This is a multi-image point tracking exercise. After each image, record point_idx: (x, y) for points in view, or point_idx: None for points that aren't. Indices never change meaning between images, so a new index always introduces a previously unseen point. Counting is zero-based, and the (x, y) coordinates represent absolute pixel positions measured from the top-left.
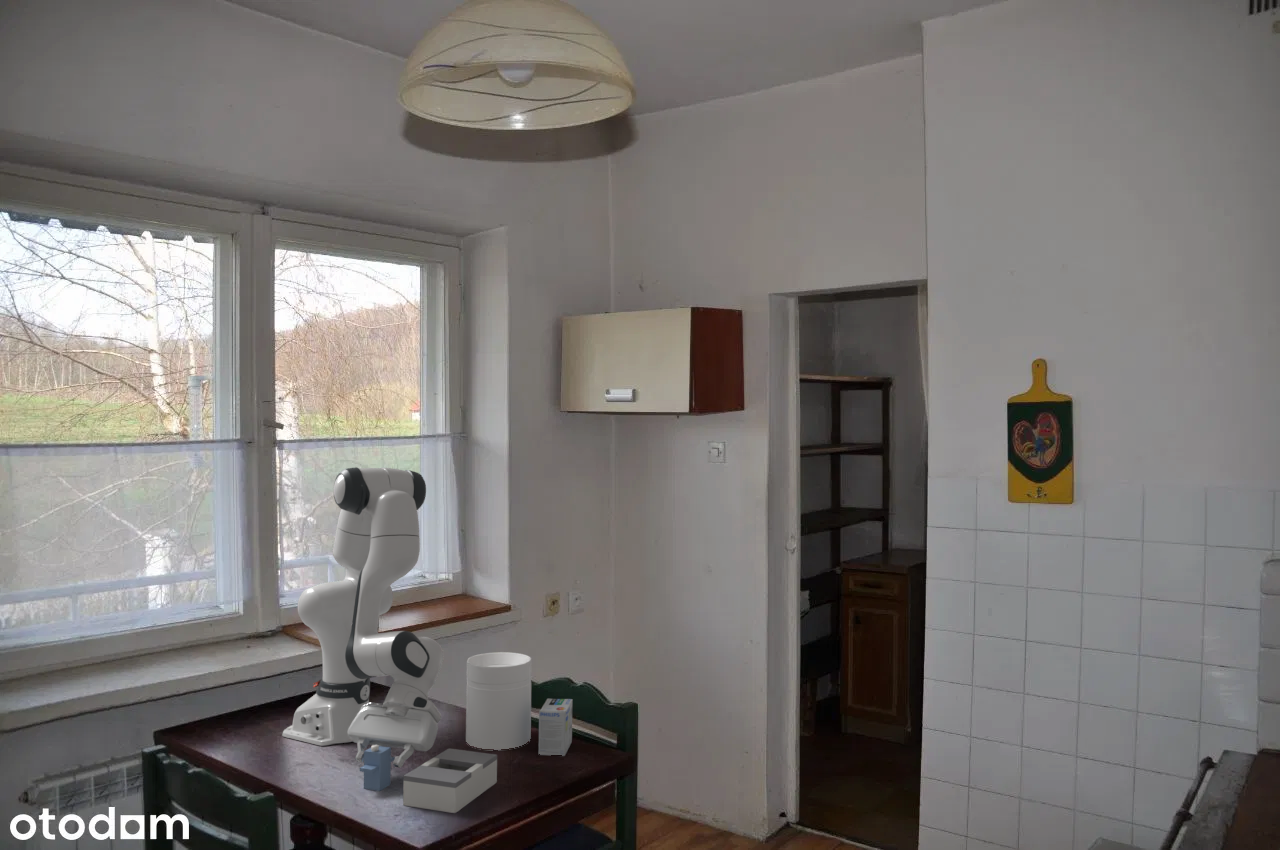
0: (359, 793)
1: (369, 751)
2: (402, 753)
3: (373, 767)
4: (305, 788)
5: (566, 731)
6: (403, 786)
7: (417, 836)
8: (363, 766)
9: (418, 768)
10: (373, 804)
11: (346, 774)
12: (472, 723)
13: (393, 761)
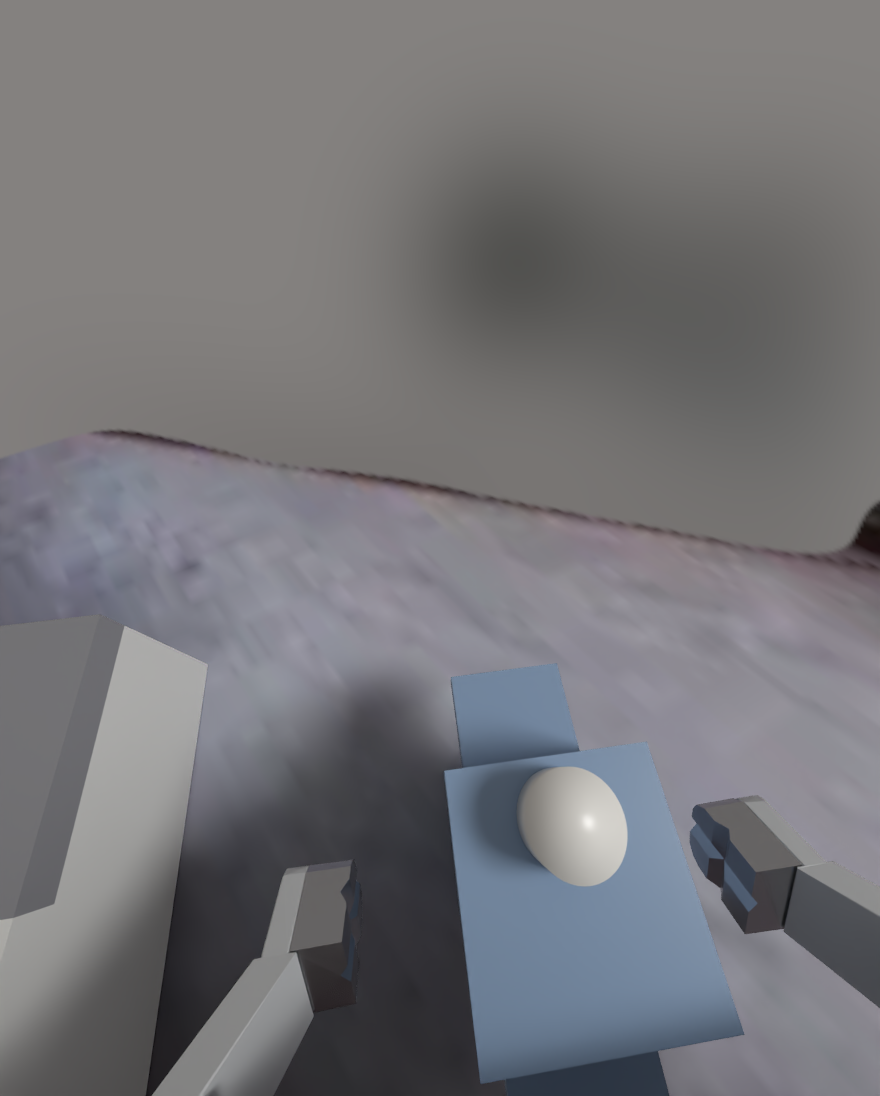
0: None
1: (589, 760)
2: (251, 1006)
3: (472, 721)
4: (790, 610)
5: None
6: (149, 638)
7: (32, 465)
8: (558, 703)
9: (15, 814)
10: (354, 609)
11: None
12: None
13: (348, 871)
